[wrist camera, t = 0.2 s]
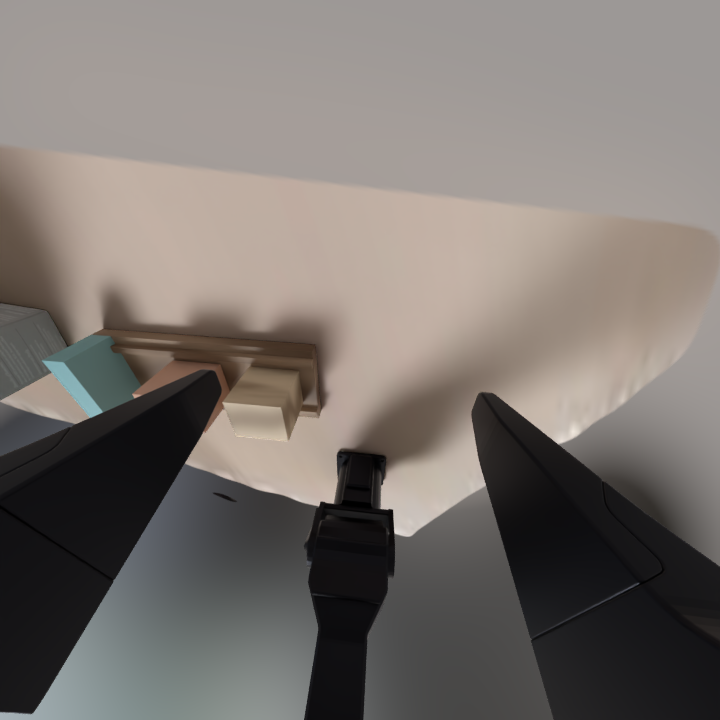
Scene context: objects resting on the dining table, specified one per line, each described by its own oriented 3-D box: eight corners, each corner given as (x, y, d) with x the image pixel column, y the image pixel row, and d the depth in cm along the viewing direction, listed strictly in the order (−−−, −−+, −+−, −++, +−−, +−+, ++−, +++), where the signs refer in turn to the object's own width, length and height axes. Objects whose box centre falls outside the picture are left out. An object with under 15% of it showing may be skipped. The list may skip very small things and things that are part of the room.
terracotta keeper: (231, 396, 28) (204, 433, 24) (188, 392, 28) (154, 428, 24) (220, 364, 25) (187, 399, 21) (172, 360, 26) (131, 393, 22)
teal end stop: (151, 402, 30) (119, 432, 26) (135, 401, 30) (101, 430, 27) (110, 336, 25) (63, 362, 21) (91, 334, 25) (41, 360, 21)
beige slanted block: (303, 402, 27) (288, 441, 23) (258, 398, 28) (235, 436, 24) (298, 370, 25) (280, 407, 21) (249, 366, 25) (222, 402, 21)
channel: (321, 410, 30) (317, 422, 28) (143, 394, 31) (131, 404, 30) (315, 344, 25) (310, 355, 23) (102, 328, 26) (85, 337, 25)
